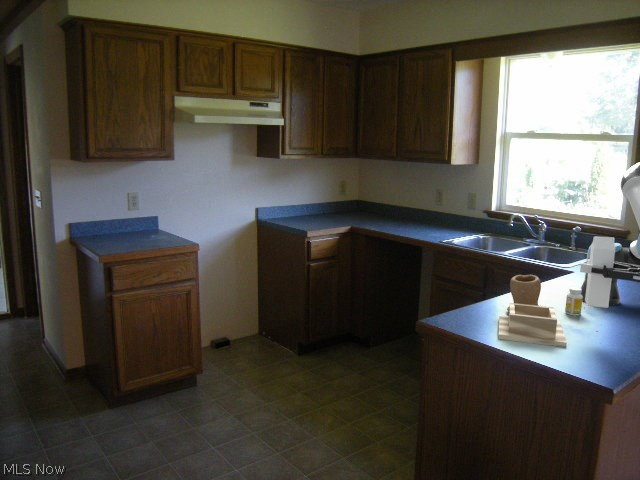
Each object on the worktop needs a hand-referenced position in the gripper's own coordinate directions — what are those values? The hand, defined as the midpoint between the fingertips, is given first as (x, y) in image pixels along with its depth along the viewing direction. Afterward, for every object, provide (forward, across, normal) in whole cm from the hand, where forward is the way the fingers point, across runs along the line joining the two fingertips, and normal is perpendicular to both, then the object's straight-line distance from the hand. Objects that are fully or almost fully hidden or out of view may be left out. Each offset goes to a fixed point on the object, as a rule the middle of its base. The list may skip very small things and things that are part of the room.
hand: (584, 265), depth 175 cm
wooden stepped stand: (+12, -8, -24) cm, 28 cm away
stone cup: (+19, +9, -24) cm, 32 cm away
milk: (-5, 0, -12) cm, 13 cm away
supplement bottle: (+7, +23, -24) cm, 34 cm away
